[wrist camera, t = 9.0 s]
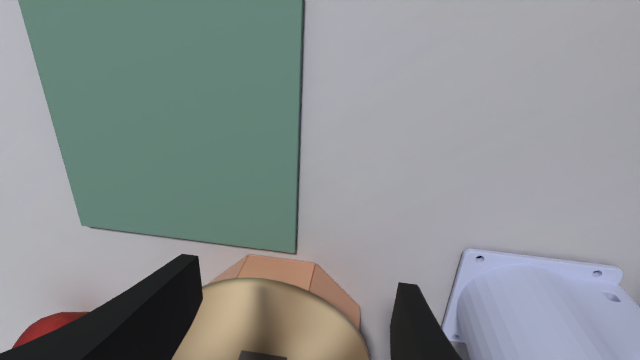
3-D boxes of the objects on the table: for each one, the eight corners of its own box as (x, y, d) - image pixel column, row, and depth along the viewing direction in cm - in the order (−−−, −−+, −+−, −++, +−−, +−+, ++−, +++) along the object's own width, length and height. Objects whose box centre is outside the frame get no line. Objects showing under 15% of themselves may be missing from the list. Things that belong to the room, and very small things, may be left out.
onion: (106, 348, 32) (30, 443, 25) (51, 313, 31) (-45, 402, 24) (134, 318, 30) (59, 412, 23) (75, 279, 29) (-23, 365, 22)
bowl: (365, 269, 24) (364, 312, 21) (349, 381, 30) (346, 431, 26) (202, 248, 26) (174, 285, 22) (214, 359, 31) (193, 404, 27)
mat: (303, -9, 18) (302, -9, 17) (296, 249, 24) (294, 253, 24) (19, -24, 19) (11, -25, 19) (86, 222, 26) (81, 225, 26)
